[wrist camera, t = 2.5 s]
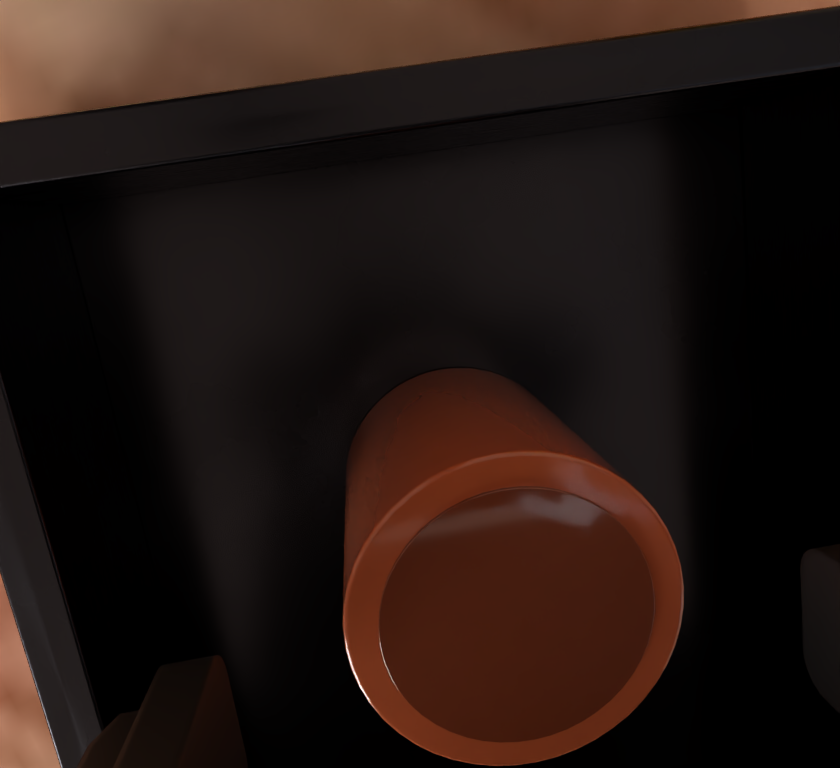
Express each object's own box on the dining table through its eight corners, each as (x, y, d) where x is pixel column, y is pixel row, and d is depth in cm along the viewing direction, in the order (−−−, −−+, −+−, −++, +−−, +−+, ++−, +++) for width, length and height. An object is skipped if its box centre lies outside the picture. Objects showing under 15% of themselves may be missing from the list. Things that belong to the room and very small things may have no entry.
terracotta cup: (327, 387, 15) (313, 487, 9) (553, 349, 16) (676, 424, 10) (365, 594, 16) (374, 801, 10) (574, 556, 17) (698, 736, 11)
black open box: (22, 168, 15) (-137, 139, 10) (754, 64, 15) (934, -9, 11) (207, 866, 19) (158, 1086, 14) (780, 749, 20) (918, 916, 15)
